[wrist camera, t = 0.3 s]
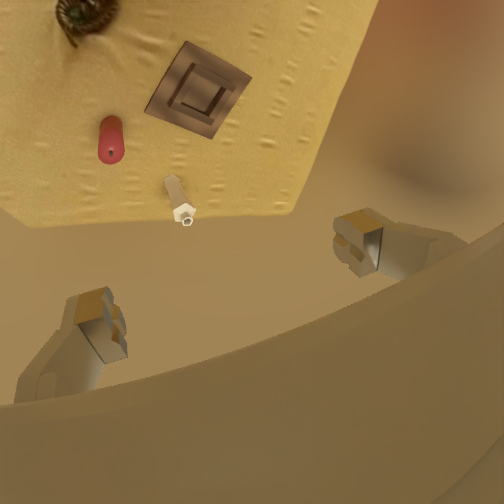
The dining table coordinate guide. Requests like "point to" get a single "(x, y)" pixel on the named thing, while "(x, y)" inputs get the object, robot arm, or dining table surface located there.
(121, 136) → the burgundy candle
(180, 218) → the perfume bottle
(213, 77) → the walnut stand
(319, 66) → the dining table surface
